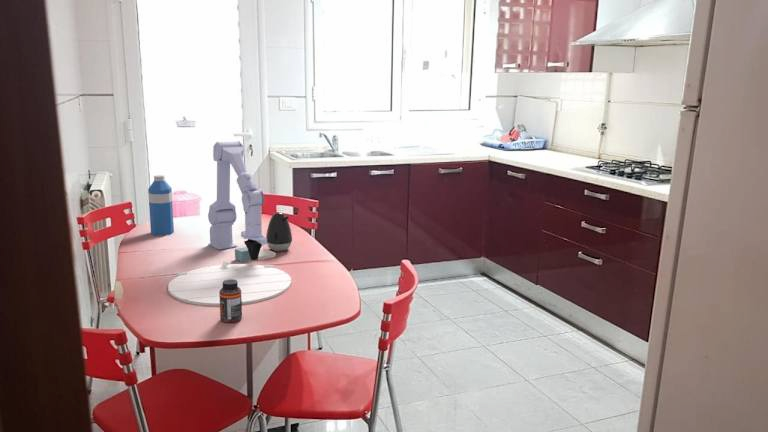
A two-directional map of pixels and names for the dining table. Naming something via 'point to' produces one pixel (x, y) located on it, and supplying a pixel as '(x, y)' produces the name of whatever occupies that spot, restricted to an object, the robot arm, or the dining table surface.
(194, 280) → the lazy susan
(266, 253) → the white slotted box
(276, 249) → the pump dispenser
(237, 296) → the supplement bottle
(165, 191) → the water bottle
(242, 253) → the pale blue cube
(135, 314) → the dining table surface
